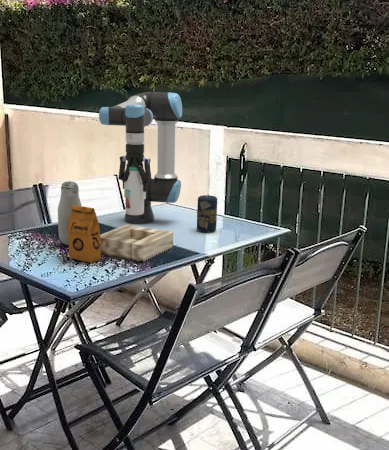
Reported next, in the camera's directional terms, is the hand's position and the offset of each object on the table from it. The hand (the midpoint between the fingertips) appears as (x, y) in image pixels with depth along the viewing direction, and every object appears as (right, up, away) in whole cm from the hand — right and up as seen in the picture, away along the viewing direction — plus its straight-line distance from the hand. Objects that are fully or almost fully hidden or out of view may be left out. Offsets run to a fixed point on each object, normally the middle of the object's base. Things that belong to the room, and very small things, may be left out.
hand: (134, 197), depth 238 cm
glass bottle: (-29, -20, +11) cm, 37 cm away
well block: (-1, -22, +6) cm, 23 cm away
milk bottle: (0, -7, +2) cm, 7 cm away
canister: (+31, -14, +39) cm, 52 cm away
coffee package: (-19, -25, -8) cm, 33 cm away
